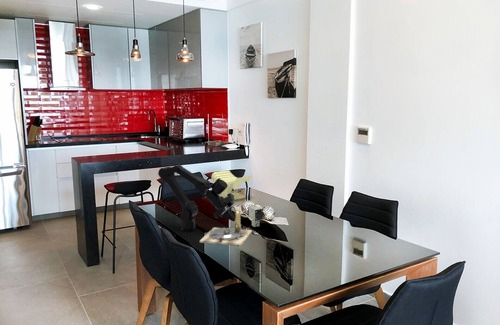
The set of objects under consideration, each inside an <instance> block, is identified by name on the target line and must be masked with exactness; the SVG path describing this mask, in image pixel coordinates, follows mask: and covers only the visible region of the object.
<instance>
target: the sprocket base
mask: <svg viewBox="0 0 500 325" xmlns="http://www.w3.org/2000/svg"><path fill="white" fill-rule="evenodd" d="M223 228H224V227H212V229H211V230H209V231H208V232H207V233H206V234H205V235H204V236H203V237H202V238H201V239H200V240H199V243H201V244H202V243H203V244H213V245H226V246H237V245H239V246H240V247H242V246H243V245H244V243H245V242H246V240H247V239H248V238H249V236H251V233H252V232H253V231H252V230H251V229H241V231H244V237H239V239H232V240H231V241H229V240H222V238H219V239H212V236H211V237H209V234H210V231H215V229H223ZM239 246H238V247H239Z"/></svg>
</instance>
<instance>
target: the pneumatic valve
mask: <svg viewBox="0 0 500 325" xmlns="http://www.w3.org/2000/svg"><path fill="white" fill-rule="evenodd" d="M247 207H248V209H247V214H248V215H247V216H248V218H250V219H252V220H251V227H254V228H256V227H258V228H259V227H260V221H263V219H264V217H265V214H264V209H263V208H262V207H261V206H257V205H249V206H247Z"/></svg>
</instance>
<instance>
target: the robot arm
mask: <svg viewBox="0 0 500 325" xmlns="http://www.w3.org/2000/svg"><path fill="white" fill-rule="evenodd" d="M176 174H177V175H179V176H180V177H181V178H184V179H185V180H186V181H188V182H190V183H191V184H192V185H193V187H194V188H195V189H196V190H197V191H198V192H200V193H202V200H204V199H207V200H208V201H209V202H210V203H211V206H212V207H215V209H216V211H214V213H213V216H214V218H215V219H218V218H219V217H221V218H224V219H227V220H229V221H232V222H235V214H234V212H233V211H232V210H233V205H234V204H235V202H234V201H235V199H234V195H233V194H231V193H232V192H231V193H229V194H227V197H225V198H223V197H222V196H221V197H220V196H219V194H221V193H222V192H223V191H224V190H225V189H226V188H227V187H228V185H227V183H226V182H224V181H223V180H221V179H220V178H218V179H217V180H216V181H215V182H212V181H211V182H210V181H209V180H208V179H206V178H204V177H199V176H197V175H195V174H194V173H193V172H191V171H190V170H188V169H186V168H185V167H184V166H183V165H181V164H176V165H173V166H164V167H162V168H159V170H158V172H157V175H158V176H159V178H160V179H161V180H162V181H164V182H165V183H166V184H168V186H169V188H170V190H171V191H172V193H173V194H174V196H175V197H176V199H177V200H178V202H179V203H180V205H181V211H182V212H181V214H180V215H179V220H180V221H181V229H180V230H181V231H187V232H188V231H189V232H192V231H193V230H195V229H196V220H195V218H196V217H197V214H198V213H199V206H198V205H197V203H196V202H195V200H190V199H189V198H188V197H187V196H188V195H186V194H185V191H184V190H183V189H182V186H180V184H179V182H178V181H177V180H176V176H175V175H176Z"/></svg>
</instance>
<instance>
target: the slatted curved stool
mask: <svg viewBox="0 0 500 325" xmlns="http://www.w3.org/2000/svg"><path fill="white" fill-rule="evenodd" d="M218 178H220V179H221V180H223V181H224V182H226V183H227V185H228V187H227V188H226V189H225V190H224V191H223V192H222V193H221V194H218V195H219V196H220V197H221V196H222V197H223V198H225V197H227V194H229V193H231V194H233V195H234V199H235V200H241V199H245V198H246V197H245V194H242V193H239V192H232V191H233V190H236V189H239V188H240V186H241V184H242V183H245V182H248V181H252V180H253V176H252V175H250V176H243V177H237V176H235V175H234V174H233V173H232V172H231V171H230V170H221V171H220V170H219V171H214V172H213V173H212V174H211V183H215V181H216V180H217V179H218ZM235 200H234V201H235Z"/></svg>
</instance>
